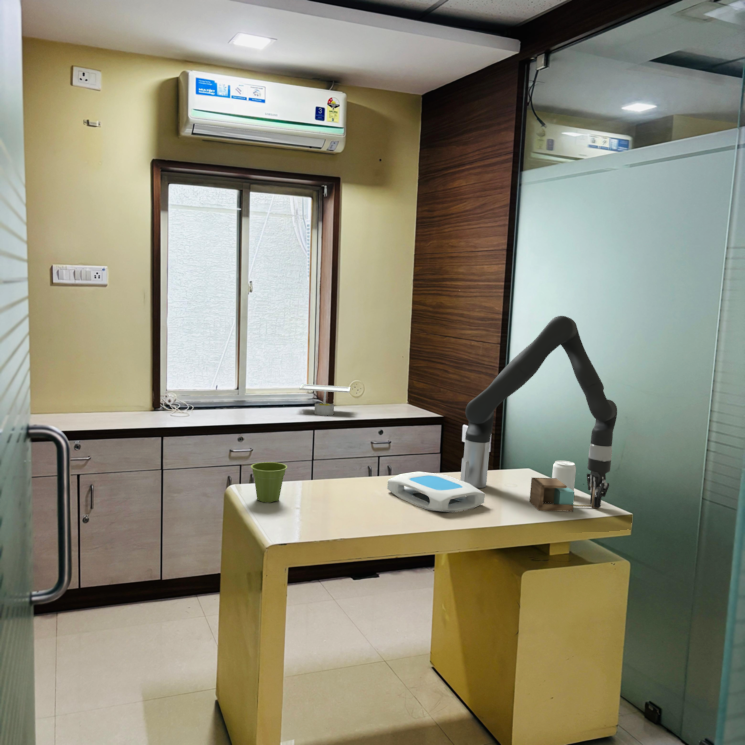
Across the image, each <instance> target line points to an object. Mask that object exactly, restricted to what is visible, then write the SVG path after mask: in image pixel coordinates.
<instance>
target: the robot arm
mask: <svg viewBox="0 0 745 745" xmlns="http://www.w3.org/2000/svg"><path fill="white" fill-rule="evenodd" d="M559 346H561V348H562V349H564V351H565V353H566V355H567V358H568V360H569V363H570V364H571V367H572V371H573V374H574V377H575V378H576V380H577V383H578V384H579V387H580V388H581V390H582V392H583V394H584V397H585V399H586V403H587V407H588V409H589V412H590V413H591V415H592V417H593V418H594V419H595V423H594V426H593V428H592V430H591V435H590V445H589V448H588V449H589V450H588V458H587V460H588V461H587V470H588V471H590V473H586V481H587V482H586V483H587V489H588V491H589V493H590V500H589V505H592V494H593V487H594V490H595V496H594V507H598V508H597V509H599V508H601V504H602V498H605V497H606V496H607V495H606V494H607V492H608V490H609V487H610V483H609V482H606V481H607V477H606V474H607V473H609V472H611V464H612V456H613V455H612V454H613V435H614V433H613V432H614V430H615V426H616V422H617V416H618V407H617V405H616V403H615V401H614V400H611V399H608V397H606V395H605V392H604V389H605V387H604V383H603V382H602V380H601V377H600V376H599V374H598V372H597V370H596V369H595V367H594V365H593V364H592V361H591V360H590V357H589V356H588V354H587V352H586V350H585V347H584V345H583V342H582V338H581V336H580V333H579V330H578V327H577V322H575V320H573V319H572V318H571V317H568V316H565V315H557V316H555V317H554V318H552V319H551V320H550V321H549V322H548V323H547V324H546V326H545V327H543V330H541V331H540V333H539V334H538V335H537V336H536V338H534V340H533V341H532V342H530V343H529V344H528V345H527V346H526V347H525V348H523V350H521V351H520V352H519V353H518V354H517V355H516V356H515V357H513V359H512V360H511V361H510V362H509V363H508V364H507V365H506V366H504V368H503V369H502V370H501V371H500V373H499V374H497V376H496V377H495V378H494V379H493V381H492V382H491V383H490V384H489V385H488V387H486V388H485V389H484V390H483V391H482V392H481V393H479V394H478V395H477V396H476V397H474V398H473V399H472V400H470V401H469V402H468V403H467V405H466V407H465V413H464V414H465V417H466V419H467V420H468V425H467V429H466V431H465V436H464V448H463V449H464V450H463V457H462V458H461V468H460V469H461V470H460V479H459V480H461V481H464V482H467V483H469V484H471V485H472V486H474V487H475V488H477V489H484V488H486V487H487V482H488V470H489V459H490V458H489V457H490V444H491V436H492V433H493V424H494V417H495V410H496V409H497V408H498V406H499V405H500V404H501V403H502V402H504V401H505V400H506V399H507V398H509V397H510V396H512V395H513V394H515V393H516V392H517V391H518V390H519V389H521V388H522V387H524V385H526V383H527V382H529V380H531V379H532V377H534V376H535V374H537V372H538V371H539V369H540V368H541V366H542V365H543V363H544V362H545V360H547V358H548V357H549V355H550V354H551V353H552V352H553V351H555V350H556V349H557V348H558V347H559ZM597 487H600V488H597Z"/></svg>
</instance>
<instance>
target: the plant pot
mask: <svg viewBox="0 0 745 745" xmlns="http://www.w3.org/2000/svg"><path fill="white" fill-rule="evenodd" d="M250 468H251V469H252V475H253V478H254V485H255V495H256V500H257V501H260V502H261V503H273V502H278V501H279V500H280V497H281V491H282V485H283V481H284V476H285V473H286V470H287V469H288V465H287V464H284V463H282V462H276V461H275V462H274V461H269V462H268V461H264V462H256V463H253V464H251V465H250Z"/></svg>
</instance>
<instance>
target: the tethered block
mask: <svg viewBox="0 0 745 745" xmlns="http://www.w3.org/2000/svg"><path fill="white" fill-rule="evenodd" d="M597 488H600V487H597ZM594 496H595V490H594V487H593V494H592V505H591V504H574V500H575V490H574V491H572V490H571V489H570V488H555V493H554V504H570V505H573V508H574V507H581V508H583V507H584V508H587V507H588V508H592V509H599V508H598V507H594Z"/></svg>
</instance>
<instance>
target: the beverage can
mask: <svg viewBox="0 0 745 745" xmlns="http://www.w3.org/2000/svg"><path fill="white" fill-rule="evenodd" d="M576 471H577V467H576V464H575V462H573V461H569V460H555V461H554V463H553V466H552V474H551V478H557V479H558V480H559V481H561V482H562V483H563V484H565V485H566V486H567V488H570V489H571V490H572V491H574V492H575V483H576V482H575V481H576Z"/></svg>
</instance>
